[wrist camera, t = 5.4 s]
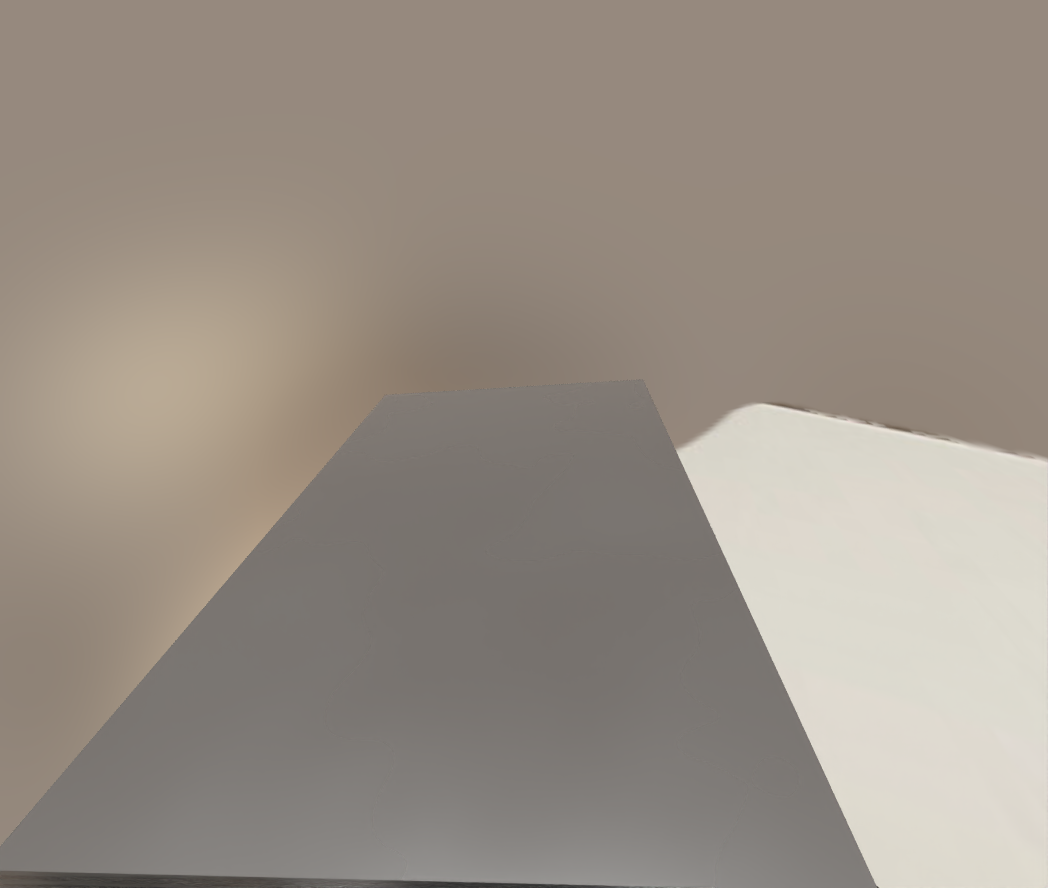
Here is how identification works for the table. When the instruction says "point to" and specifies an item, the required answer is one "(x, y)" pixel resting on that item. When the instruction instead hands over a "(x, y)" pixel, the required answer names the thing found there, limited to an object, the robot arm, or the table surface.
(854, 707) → the table surface
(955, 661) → the table surface
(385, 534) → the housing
